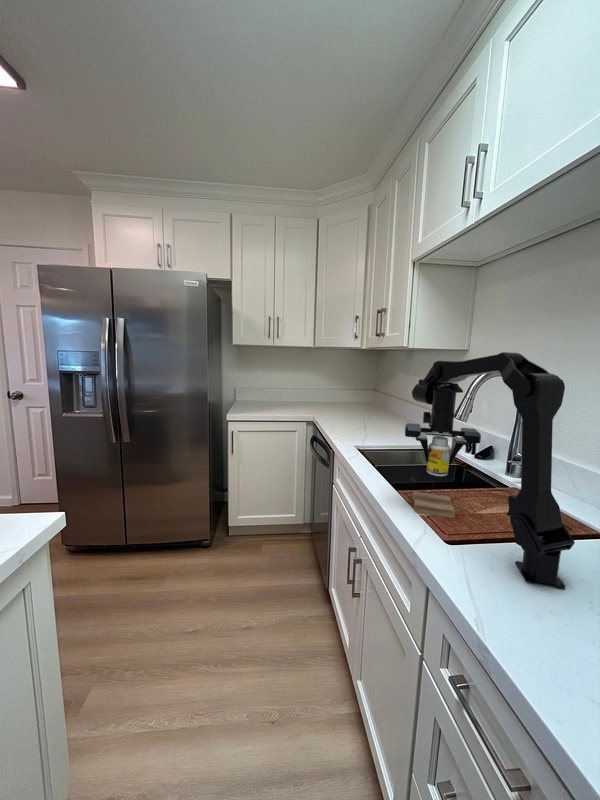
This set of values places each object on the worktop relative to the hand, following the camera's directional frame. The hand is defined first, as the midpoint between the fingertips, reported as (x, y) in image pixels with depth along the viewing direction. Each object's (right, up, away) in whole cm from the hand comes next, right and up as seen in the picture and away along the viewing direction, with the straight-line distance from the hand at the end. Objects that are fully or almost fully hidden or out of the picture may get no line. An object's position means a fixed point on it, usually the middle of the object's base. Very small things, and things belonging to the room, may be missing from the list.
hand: (437, 463), depth 93 cm
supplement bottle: (0, -3, +1) cm, 3 cm away
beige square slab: (-1, -13, +3) cm, 13 cm away
